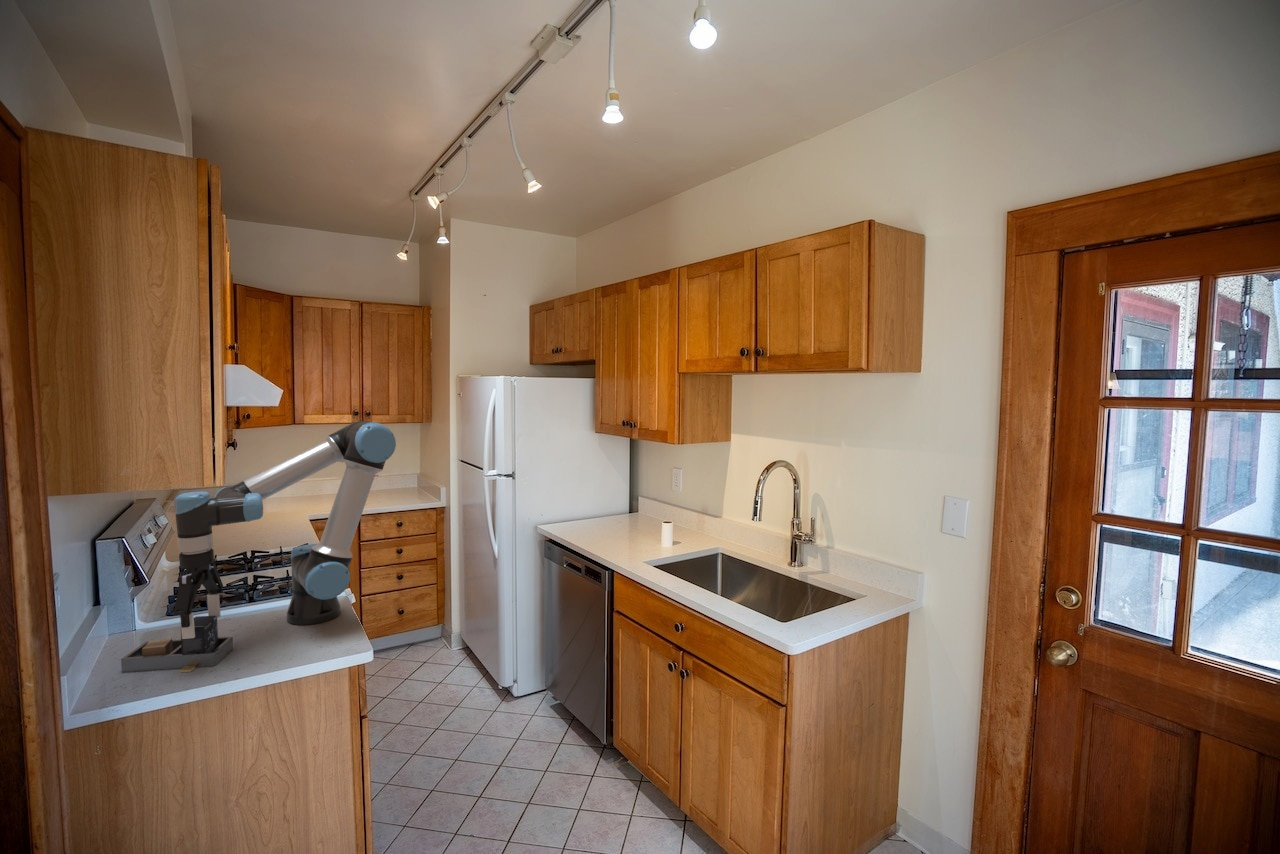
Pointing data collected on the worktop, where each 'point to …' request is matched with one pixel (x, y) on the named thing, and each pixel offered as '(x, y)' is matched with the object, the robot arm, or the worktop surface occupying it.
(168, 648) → the nut block
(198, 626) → the box
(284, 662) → the worktop surface
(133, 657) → the tray
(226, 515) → the robot arm
